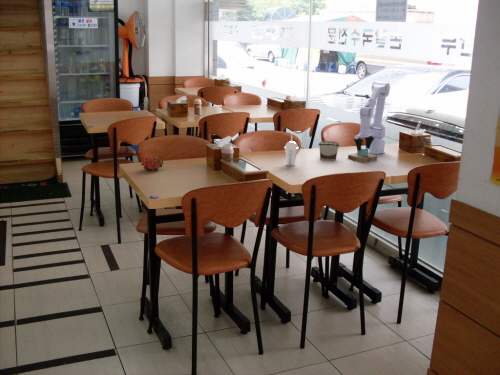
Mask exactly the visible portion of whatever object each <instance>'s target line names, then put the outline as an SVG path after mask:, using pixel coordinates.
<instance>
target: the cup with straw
mask: <svg viewBox="0 0 500 375" xmlns="http://www.w3.org/2000/svg"><path fill="white" fill-rule="evenodd" d="M298 133H302V130H300V131H299V130H297V131H291V133H290V134H291V135H290V141H287V142H286V143H285V146H283V149H284V151H285V159H286V160H285V162H286V166H287V165H294V166H295V165H296V159H297V154H298V150H299V149H300V147H299V145H298V143H297V142H295V141H293V134H298Z"/></svg>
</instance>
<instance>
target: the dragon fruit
mask: <svg viewBox="0 0 500 375" xmlns="http://www.w3.org/2000/svg"><path fill="white" fill-rule="evenodd" d="M163 163H164V161H163V159H162V158H161V157H158V156H157V155H153V156H152V155H150V156H148V157H146V158H145V159H144V160H143V161H142V162H141V163H140V166H143V169H144V170H145V171H146V170H147V171H152V172H154V171H158V170H159V168H162V167H163V165H164V164H163Z"/></svg>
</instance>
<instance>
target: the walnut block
mask: <svg viewBox="0 0 500 375" xmlns="http://www.w3.org/2000/svg"><path fill="white" fill-rule="evenodd" d="M347 159H348V160H351V161H356V162H359V163H362V164H363V163H369V162H373V161H377V160H378V156H377V155H375V154H371V153H368V156H363V157H362V156H359V155H357V153H350V154H348V155H347Z"/></svg>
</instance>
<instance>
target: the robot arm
mask: <svg viewBox="0 0 500 375" xmlns="http://www.w3.org/2000/svg"><path fill="white" fill-rule="evenodd" d="M390 89H391V84H390V82H389V81H388V82H386V81H385V82H384V81H373V82H372V84H371V95H370V97H368V98H367V100H366V101H365V103H364V105H363V106H362V107H360V110H359V119H360V124H359V125H360V126H359V133H358V134H356V135H354V139H353V140H354V143H355V146H356V150H358V151H361V147H362V145H363V142H364V139H365V148H369V149H368V154H371V155H378V154H379V155H380V154H385V143H386V142H385V140H384V138H385V136H386V126H385V125H384V124H383V123H382V122H383V116H384V110H385V109H384V108H385V105H386V98H387V97H389V95H390ZM374 110H375V111H374ZM373 113H374V117H373ZM372 117H373V118H374V119H373V122H372V123H371V121H372Z"/></svg>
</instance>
